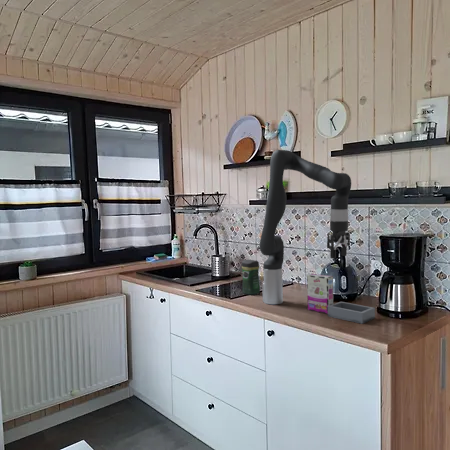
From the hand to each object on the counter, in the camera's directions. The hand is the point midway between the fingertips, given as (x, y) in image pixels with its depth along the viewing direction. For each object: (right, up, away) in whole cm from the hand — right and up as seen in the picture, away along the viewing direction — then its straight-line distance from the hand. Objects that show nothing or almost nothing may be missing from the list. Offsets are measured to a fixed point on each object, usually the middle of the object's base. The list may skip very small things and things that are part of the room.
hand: (338, 257), depth 180 cm
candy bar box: (-5, -26, +11) cm, 28 cm away
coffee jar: (-35, -24, +49) cm, 64 cm away
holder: (+5, -26, -1) cm, 26 cm away
